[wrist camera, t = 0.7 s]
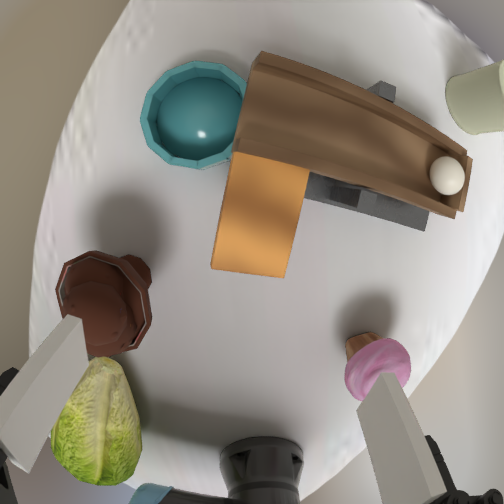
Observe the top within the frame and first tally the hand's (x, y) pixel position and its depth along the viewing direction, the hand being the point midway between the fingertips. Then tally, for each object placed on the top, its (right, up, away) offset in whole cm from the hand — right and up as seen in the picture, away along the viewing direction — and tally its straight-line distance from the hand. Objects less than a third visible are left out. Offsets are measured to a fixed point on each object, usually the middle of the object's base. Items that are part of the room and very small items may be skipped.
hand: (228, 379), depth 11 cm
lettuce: (-23, -20, +29) cm, 42 cm away
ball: (+21, +13, +13) cm, 28 cm away
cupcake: (+16, -8, +27) cm, 32 cm away
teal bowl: (-5, +20, +19) cm, 28 cm away
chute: (+10, +12, +17) cm, 23 cm away
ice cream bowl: (-14, +2, +24) cm, 27 cm away
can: (+32, +27, +18) cm, 46 cm away
